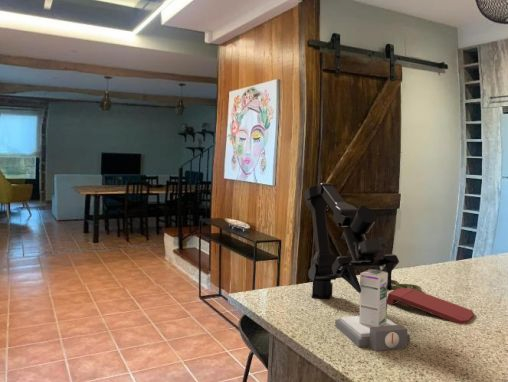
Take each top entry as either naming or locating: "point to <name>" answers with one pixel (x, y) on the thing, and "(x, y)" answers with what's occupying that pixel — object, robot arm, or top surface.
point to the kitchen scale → (374, 334)
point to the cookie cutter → (405, 286)
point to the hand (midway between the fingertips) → (375, 291)
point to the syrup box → (373, 297)
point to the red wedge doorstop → (431, 305)
